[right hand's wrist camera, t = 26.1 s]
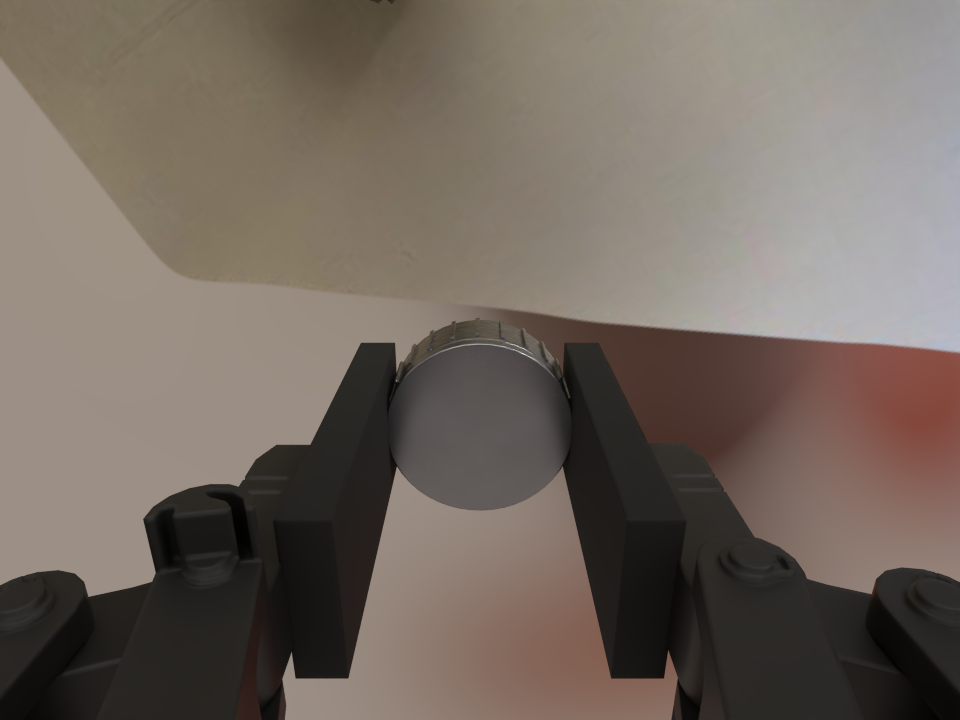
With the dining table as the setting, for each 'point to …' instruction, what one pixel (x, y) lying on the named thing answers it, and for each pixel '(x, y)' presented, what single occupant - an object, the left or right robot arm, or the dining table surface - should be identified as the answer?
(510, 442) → the cap
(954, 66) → the dining table surface
